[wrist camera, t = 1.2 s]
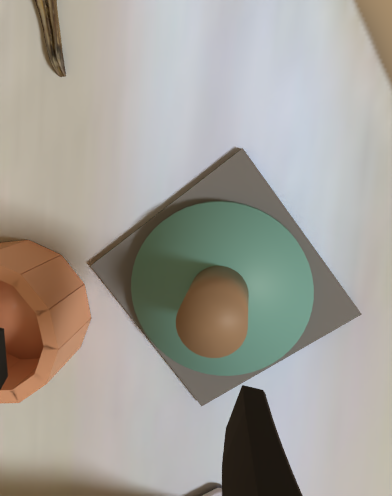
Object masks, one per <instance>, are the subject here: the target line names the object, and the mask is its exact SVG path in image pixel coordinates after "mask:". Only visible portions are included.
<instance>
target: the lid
mask: <svg viewBox="0 0 392 496" xmlns="http://www.w3.org/2000/svg"><path fill="white" fill-rule="evenodd" d="M131 294H132V301H133V306H134V310H135V313H136V315H137V318H138V321H139V322H140V324H141V326H142V328H143V330H144V332H145V333H146V334H147V336H148V337H149V339H150V340H151V341H152V342H153V343H154V345H155V346H156V347H157V348H158V349H159V350H161V351H162V352H163V353H164V354H165V355H166V356H168V357H169V358H171V359H172V360H173V361H175V362H177V363H179V364H181V365H182V366H184V367H187V368H189V369H192V370H194V371H197V372H201V373H205V374H210V375H217V376H233V375H242V374H246V373H251V372H254V371H257V370H260V369H262V368H264V367H267V366H269V365H271V364H272V363H274V362H275V361H277V360H278V359H280V358H281V357H283V356H284V355H285V354H286V353H287V352H288V351H289V350H290V349H291V348H292V347H293V346H294V345H295V344H296V343H297V341H298V340H299V338H300V337H301V335H302V334H303V332H304V330H305V328H306V326H307V324H308V322H309V318H310V315H311V312H312V307H313V300H314V285H313V278H312V273H311V270H310V266H309V263H308V261H307V258H306V256H305V254H304V252H303V250H302V248H301V247H300V245H299V244H298V242H297V240H296V239H295V238H294V236H293V235H292V234H291V233H290V232H289V230H288V229H287V228H286V227H285V226H283V225H282V224H281V223H280V222H279V221H278V220H276V219H275V218H273V217H272V216H271V215H269V214H267V213H265V212H263V211H261V210H260V209H258V208H255V207H252V206H249V205H246V204H242V203H237V202H231V201H209V202H203V203H198V204H195V205H192V206H189V207H186V208H184V209H182V210H180V211H178V212H176V213H174V214H173V215H171V216H170V217H168V218H167V219H165V220H164V221H162V222H161V223H160V224H159V225H158V226H157V227H156V228H155V229H154V230H153V231H152V232H151V233H150V234H149V235H148V237H147V238H146V240H145V241H144V243H143V244H142V246H141V248H140V250H139V252H138V254H137V256H136V259H135V263H134V266H133V271H132V277H131Z"/></svg>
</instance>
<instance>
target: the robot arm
mask: <svg viewBox="0 0 392 496" xmlns="http://www.w3.org/2000/svg"><path fill="white" fill-rule="evenodd" d="M7 377H8V370H7V358H6V346H5V334H4V328H0V390H1V388H2V386H3V384H4V383H5V381H6V379H7ZM202 496H302V493H301V491H300V489H299V487H298V484H297V482H296V479H295V477H294V475H293V472H292V470H291V467H290V465H289V462H288V459H287V457H286V454H285V452H284V449H283V447H282V444H281V441H280V438H279V435H278V433H277V430H276V427H275V424H274V421H273V418H272V415H271V412H270V408H269V405H268V402H267V398H266V395H265V393H264V391H263V390H260V389H256V388H252V387H248V386H243V385H242V388H241V390H240V393H239V396H238V398H237V401H236V403H235V406H234V409H233V411H232V414H231V417H230V419H229V422H228V425H227V427H226V433H225V442H224V452H223V462H222V488H216V489H214V490H212V491H210V492H208V493H206V494H204V495H202Z"/></svg>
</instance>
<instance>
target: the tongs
mask: <svg viewBox="0 0 392 496" xmlns="http://www.w3.org/2000/svg"><path fill="white" fill-rule="evenodd" d="M35 1H36V4H37V7H38V10H39V14H40V17H41V22H42V26H43V30H44V35H45V41H46V46H47V50H48V55H49V58H50V61H51V63H52V65H53V67H54V69H55V71H56V72H57V74H58V75H59V76H60V77H62V76H63V77H64V76H66V72H65V66H64V59H63V53H62V44H61V35H60V28H59V19H58V11H57V0H48V4H49V7H48V6H47V4H46V1H45V0H35Z"/></svg>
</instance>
